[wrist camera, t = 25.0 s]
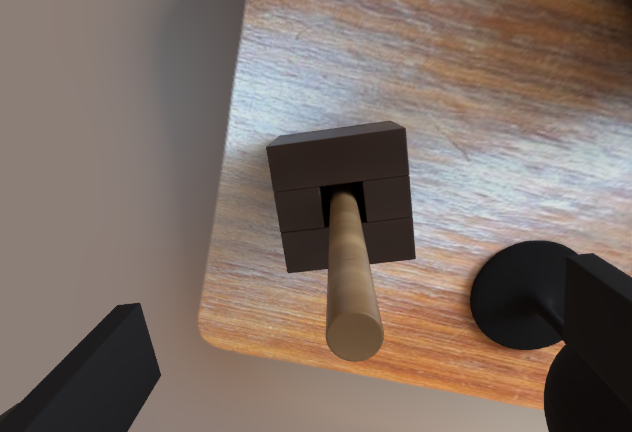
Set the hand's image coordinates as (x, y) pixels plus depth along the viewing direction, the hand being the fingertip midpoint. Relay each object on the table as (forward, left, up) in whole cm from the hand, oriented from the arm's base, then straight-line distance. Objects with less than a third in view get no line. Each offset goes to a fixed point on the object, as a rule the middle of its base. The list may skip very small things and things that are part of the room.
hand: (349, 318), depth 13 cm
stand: (0, 0, -22) cm, 22 cm away
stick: (+1, 0, -22) cm, 22 cm away
